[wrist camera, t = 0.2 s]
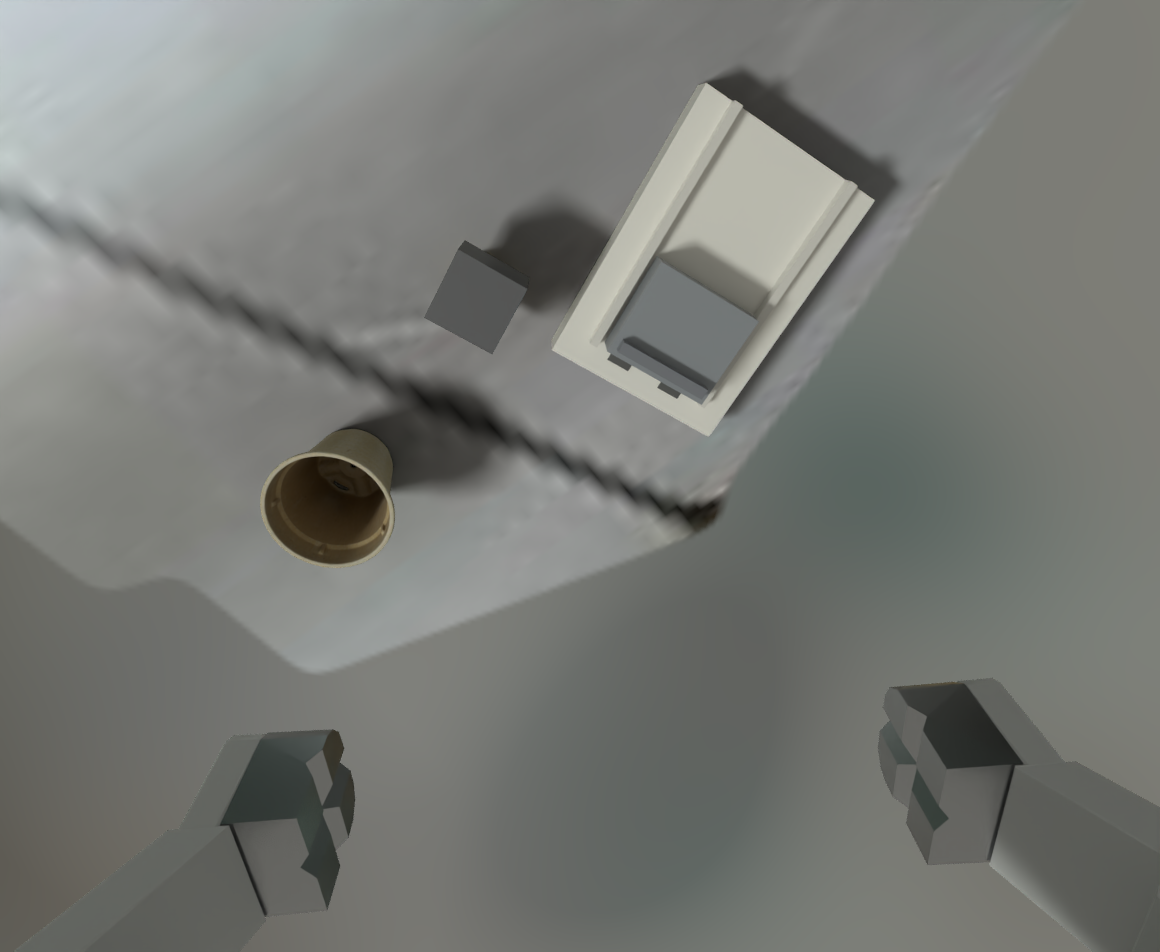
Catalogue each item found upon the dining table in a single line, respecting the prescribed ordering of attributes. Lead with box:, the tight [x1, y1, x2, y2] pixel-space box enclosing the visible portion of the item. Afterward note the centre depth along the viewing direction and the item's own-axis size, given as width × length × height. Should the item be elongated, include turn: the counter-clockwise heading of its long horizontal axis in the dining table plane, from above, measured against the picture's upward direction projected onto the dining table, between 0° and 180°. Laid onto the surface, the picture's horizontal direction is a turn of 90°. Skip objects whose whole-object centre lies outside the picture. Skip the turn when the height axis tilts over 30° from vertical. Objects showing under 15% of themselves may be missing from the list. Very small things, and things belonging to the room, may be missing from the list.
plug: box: [424, 241, 529, 354], centre depth 51 cm, size 5×5×7 cm
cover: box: [605, 256, 759, 405], centre depth 52 cm, size 7×8×3 cm
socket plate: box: [552, 83, 875, 437], centre depth 53 cm, size 20×14×4 cm
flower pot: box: [260, 429, 395, 568], centre depth 57 cm, size 9×9×9 cm
